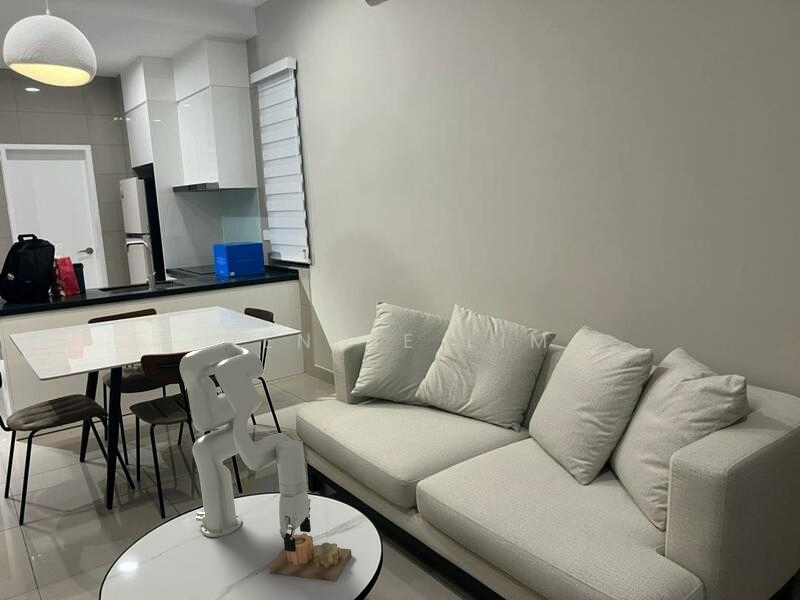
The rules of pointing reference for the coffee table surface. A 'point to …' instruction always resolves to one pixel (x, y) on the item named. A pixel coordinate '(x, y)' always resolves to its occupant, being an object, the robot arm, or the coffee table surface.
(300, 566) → the gear board
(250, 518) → the coffee table surface
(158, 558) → the coffee table surface
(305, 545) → the loose gear
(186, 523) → the coffee table surface
